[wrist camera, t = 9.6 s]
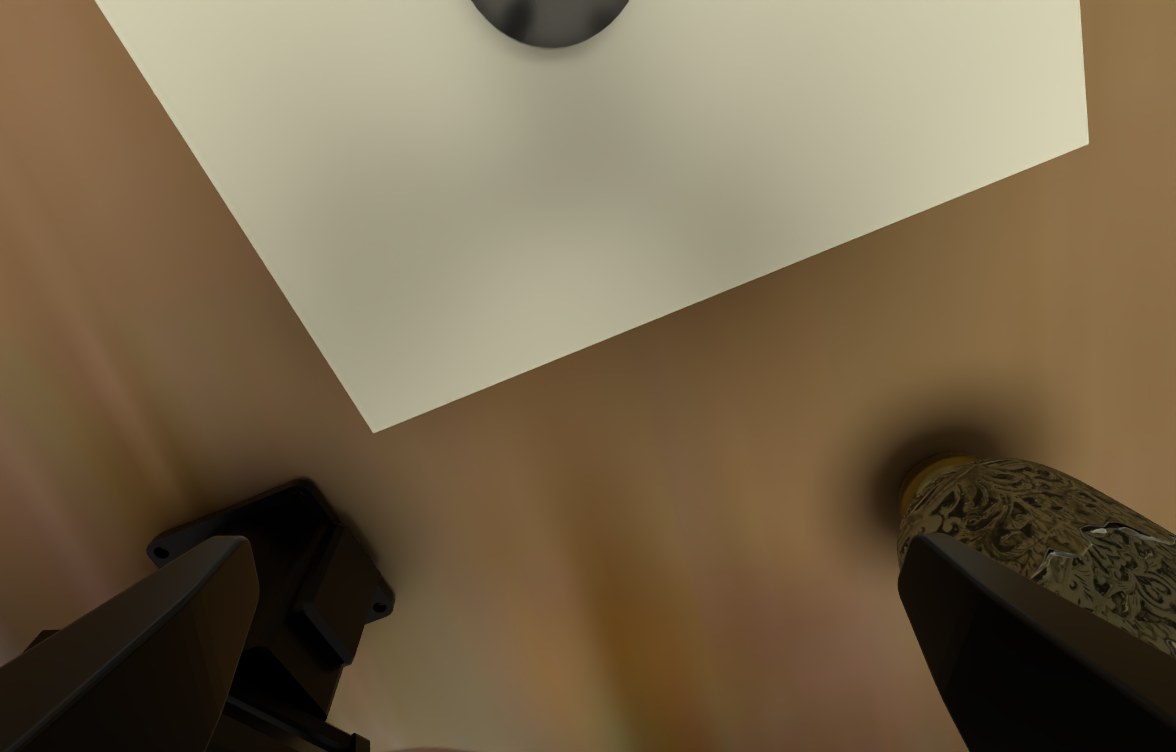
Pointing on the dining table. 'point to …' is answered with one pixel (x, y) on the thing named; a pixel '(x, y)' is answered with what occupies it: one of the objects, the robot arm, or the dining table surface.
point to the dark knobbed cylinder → (550, 20)
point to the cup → (1050, 536)
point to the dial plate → (582, 156)
